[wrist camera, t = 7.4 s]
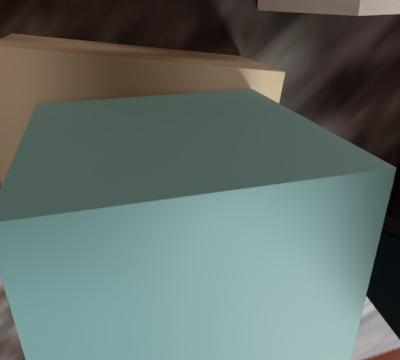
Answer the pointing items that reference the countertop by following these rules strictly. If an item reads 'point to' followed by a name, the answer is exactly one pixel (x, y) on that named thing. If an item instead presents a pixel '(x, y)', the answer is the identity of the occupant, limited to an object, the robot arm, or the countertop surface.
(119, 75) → the maple block
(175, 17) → the countertop surface
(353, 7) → the offwhite cube
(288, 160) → the teal cube
